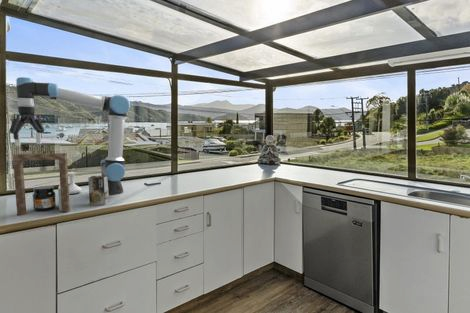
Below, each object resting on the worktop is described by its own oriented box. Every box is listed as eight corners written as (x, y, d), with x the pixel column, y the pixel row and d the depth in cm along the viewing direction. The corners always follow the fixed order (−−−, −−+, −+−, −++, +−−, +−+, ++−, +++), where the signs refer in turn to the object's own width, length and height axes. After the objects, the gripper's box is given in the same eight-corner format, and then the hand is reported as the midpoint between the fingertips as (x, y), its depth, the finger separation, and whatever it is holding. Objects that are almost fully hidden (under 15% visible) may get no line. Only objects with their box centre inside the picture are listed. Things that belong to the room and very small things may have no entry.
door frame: (69, 210, 162) (66, 153, 158) (68, 212, 159) (64, 153, 156) (19, 213, 156) (15, 154, 153) (17, 215, 153) (12, 154, 150)
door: (66, 210, 161) (65, 187, 160) (59, 210, 160) (58, 188, 158) (67, 203, 174) (66, 183, 173) (61, 204, 173) (59, 183, 172)
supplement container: (48, 211, 160) (46, 189, 158) (28, 211, 160) (27, 189, 159) (60, 206, 170) (59, 185, 169) (42, 206, 170) (40, 185, 169)
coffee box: (109, 202, 180) (108, 175, 178) (105, 205, 173) (104, 177, 172) (94, 202, 180) (92, 175, 178) (89, 205, 173) (87, 177, 172)
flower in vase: (83, 191, 211) (81, 155, 209) (80, 194, 200) (78, 157, 198) (62, 192, 207) (60, 156, 205) (58, 195, 197) (55, 157, 194)
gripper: (39, 107, 179) (41, 143, 181) (-2, 104, 155) (2, 146, 157) (50, 107, 178) (52, 143, 180) (11, 104, 154) (14, 146, 156)
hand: (28, 144), depth 169 cm, fingers open, 13 cm apart
